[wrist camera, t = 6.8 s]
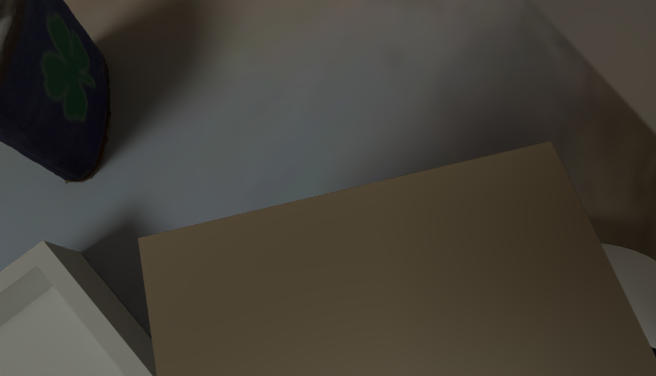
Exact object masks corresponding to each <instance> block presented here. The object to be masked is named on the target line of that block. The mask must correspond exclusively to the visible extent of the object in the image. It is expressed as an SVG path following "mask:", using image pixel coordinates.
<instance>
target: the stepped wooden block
mask: <svg viewBox="0 0 656 376" xmlns="http://www.w3.org/2000/svg"><path fill="white" fill-rule="evenodd" d="M138 243H139V250H140V257H141V265H142V272H143V279H144V286H145V294H146V301H147V308H148V315H149V323H150V330H151V337H152V344H153V352H154V359H155V366H156V373H157V376H656V357H655V354H654V352H653V350H652V348H651V346H650V344H649V342H648V340H647V338H646V336H645V334H644V332H643V330H642V328H641V325H640V323H639V321H638V319H637V317H636V315H635V313H634V311H633V309H632V307H631V305H630V303H629V301H628V299H627V296H626V294H625V292H624V290H623V288H622V286H621V284H620V282H619V280H618V278H617V276H616V274H615V272H614V270H613V267H612V265H611V263H610V261H609V259H608V257H607V255H606V253H605V251H604V249H603V247H602V245H601V243H600V241H599V238H598V236H597V234H596V232H595V230H594V228H593V226H592V224H591V222H590V220H589V218H588V216H587V214H586V212H585V209H584V207H583V205H582V203H581V201H580V199H579V197H578V195H577V193H576V191H575V189H574V187H573V185H572V183H571V180H570V178H569V176H568V174H567V172H566V170H565V168H564V166H563V164H562V162H561V160H560V158H559V156H558V153H557V151H556V149H555V147H554V145H553V143H552V141H548V142H544V143H540V144H536V145H531V146H527V147H523V148H519V149H514V150H510V151H506V152H502V153H497V154H493V155H489V156H485V157H480V158H476V159H472V160H468V161H463V162H459V163H455V164H451V165H446V166H442V167H438V168H434V169H429V170H425V171H421V172H417V173H412V174H408V175H404V176H400V177H395V178H391V179H387V180H383V181H378V182H374V183H370V184H366V185H361V186H357V187H353V188H349V189H344V190H340V191H336V192H332V193H327V194H323V195H319V196H315V197H310V198H306V199H302V200H298V201H293V202H289V203H285V204H281V205H276V206H272V207H268V208H264V209H259V210H255V211H251V212H247V213H242V214H238V215H234V216H230V217H225V218H221V219H217V220H213V221H208V222H204V223H200V224H196V225H191V226H187V227H183V228H179V229H174V230H170V231H166V232H162V233H157V234H153V235H149V236H145V237H140V238H138Z"/></svg>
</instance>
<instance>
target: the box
mask: <svg viewBox="0 0 656 376" xmlns="http://www.w3.org/2000/svg"><path fill="white" fill-rule="evenodd" d="M0 376H157V373H156V366H155V359H154V352H153V344H152V339H151V338H150V337H149V336H148V335H147V333H146V332H145V331H144V330H143V328H142V327H141V326H140V325H139V324H138V322H137V321H136V320H135V319H134V318H133V316H132V315H131V314H130V313H129V311H128V310H127V309H126V308H125V307H124V305H123V304H122V303H121V302H120V301H119V299H118V298H117V297H116V296H115V295H114V293H113V292H112V291H111V290H110V288H109V287H108V286H107V285H106V284H105V282H104V281H103V280H102V279H101V278H100V276H99V275H98V274H97V273H96V271H95V270H94V269H93V268H92V267H91V265H90V264H89V263H88V262H87V261H86V259H85V258H84V257H83V256H82V254H81V253H79V252H76V251H73V250H70V249H67V248H64V247H61V246H58V245H55V244H52V243H49V242H46V241H41V242H40V243H39V244H37V245H36V246H35V247H33V248H32V249H31V250H29V251H28V252H27V253H25V254H24V255H22V256H21V257H20V258H18V259H17V260H16V261H14V262H13V263H12V264H10V265H9V266H7V267H6V268H5V269H3V270H2V271H1V272H0Z"/></svg>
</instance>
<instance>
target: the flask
mask: <svg viewBox="0 0 656 376" xmlns="http://www.w3.org/2000/svg"><path fill="white" fill-rule="evenodd" d="M109 91H110V89H109V77H108V68H107V65H106V62H105V59H104V57H103V55H102V53H101V52H100V50H99V49H98V47H97V46H96V45H95V44H94V43H93V41H92V40H91V38H90V37H89V35H88V34H87V32H86V31H85V30H84V28H83V27H82V25H81V24H80V23H79V22H78V20H77V19H76V18H75V16H74V15H73V13H72V12H71V10H70V9H69V7H68V6H67V4H66V3H65V2H64V1H63V0H0V141H1V142H3V143H4V144H6V145H8V146H10V147H12V148H14V149H15V150H17V151H18V152H19V153H21V154H22V155H24V156H26V157H27V158H29V159H30V160H32V161H34V162H36V163H39V164H40V165H41V166H43V167H45V168H46V169H48V170H49V171H51V172H53V173H54V174H56V175H57V176H59V177H61V178H63V179H64V180H65V182H66V184H67V183H68V182H84V181H86V180H88V179H91V178H92V177H93V175H94V174H95V173H96V172H97V171H98V170H99V165H100V164H101V162H102V160H103V157H104V153H105V147H106V144H107V142H108V137H107V136H108V133H109V128H110V117H111V112H110V106H109V105H110V97H109V96H110V92H109Z"/></svg>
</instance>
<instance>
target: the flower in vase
mask: <svg viewBox="0 0 656 376" xmlns="http://www.w3.org/2000/svg"><path fill="white" fill-rule="evenodd" d="M601 245H602V247H603V249H604V251H605V253H606V255H607V257H608V259H609V261H610V263H611V265H612V267H613V270H614V272H615V274H616V276H617V278H618V280H619V282H620V284H621V286H622V288H623V290H624V292H625V294H626V296H627V299H628V301H629V303H630V305H631V307H632V309H633V311H634V313H635V315H636V317H637V319H638V321H639V323H640V325H641V328H642V330H643V332H644V334H645V336H646V338H647V340H648V342H649V344H650V346H651V347H653V348H656V260H654V259H652V258H650V257H648V256H646V255H644V254H642V253H639V252H637V251H634V250H631V249H627V248H624V247H619V246H615V245H609V244H603V243H601Z"/></svg>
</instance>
